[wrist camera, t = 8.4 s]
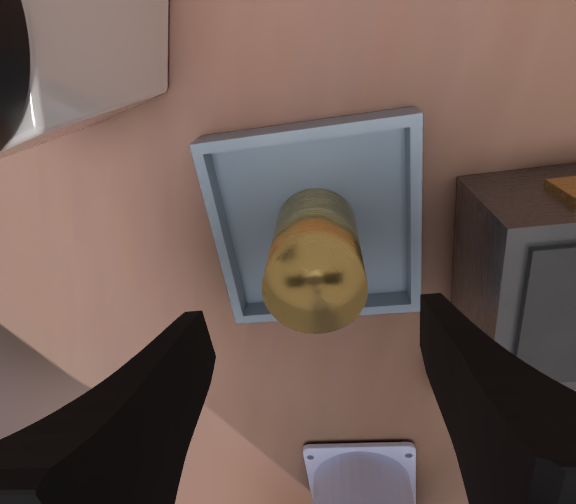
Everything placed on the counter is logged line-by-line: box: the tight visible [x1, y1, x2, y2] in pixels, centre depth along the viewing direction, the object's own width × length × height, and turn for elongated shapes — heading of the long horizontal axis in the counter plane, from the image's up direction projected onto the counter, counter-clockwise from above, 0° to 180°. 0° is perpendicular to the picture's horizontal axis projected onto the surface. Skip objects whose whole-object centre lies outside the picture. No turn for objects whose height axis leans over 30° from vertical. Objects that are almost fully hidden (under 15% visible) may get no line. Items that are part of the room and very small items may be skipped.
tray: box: [190, 106, 423, 324], centre depth 20 cm, size 10×10×2 cm
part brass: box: [261, 188, 368, 334], centre depth 18 cm, size 4×4×6 cm
